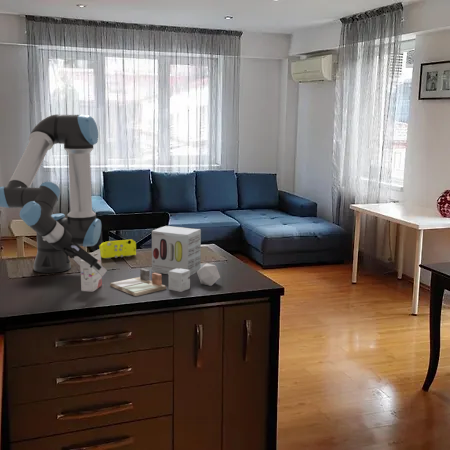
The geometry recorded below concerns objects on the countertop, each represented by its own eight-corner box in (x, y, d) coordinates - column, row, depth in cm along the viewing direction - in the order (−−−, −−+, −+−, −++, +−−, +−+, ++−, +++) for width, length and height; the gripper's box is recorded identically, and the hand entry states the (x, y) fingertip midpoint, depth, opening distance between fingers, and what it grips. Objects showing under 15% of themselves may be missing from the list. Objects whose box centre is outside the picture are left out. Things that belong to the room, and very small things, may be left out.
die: (224, 285, 231) (218, 263, 235) (217, 279, 223) (212, 257, 227) (204, 291, 232) (199, 269, 236) (197, 286, 225) (192, 263, 228)
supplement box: (150, 272, 245) (150, 230, 242) (165, 265, 258) (165, 225, 254) (188, 277, 239) (188, 234, 236) (201, 270, 251) (201, 228, 248)
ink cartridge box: (90, 284, 227) (89, 247, 224) (102, 285, 226) (101, 248, 223) (80, 291, 219) (79, 252, 216) (92, 292, 218) (91, 253, 215)
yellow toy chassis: (103, 260, 266) (102, 242, 265) (99, 257, 271) (98, 239, 270) (136, 256, 274) (136, 239, 272) (132, 254, 279) (131, 236, 277)
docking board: (110, 285, 226) (110, 272, 225) (140, 279, 235) (140, 267, 234) (135, 296, 213) (135, 282, 212) (166, 289, 223) (166, 275, 222)
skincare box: (181, 292, 219) (181, 273, 218) (168, 289, 222) (168, 270, 221) (190, 288, 224) (190, 269, 223) (177, 285, 227) (177, 267, 226)
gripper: (34, 238, 217) (72, 270, 230) (66, 250, 199) (106, 284, 212) (47, 222, 220) (84, 255, 232) (80, 232, 202) (118, 268, 214)
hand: (95, 269), depth 222 cm, fingers open, 13 cm apart
